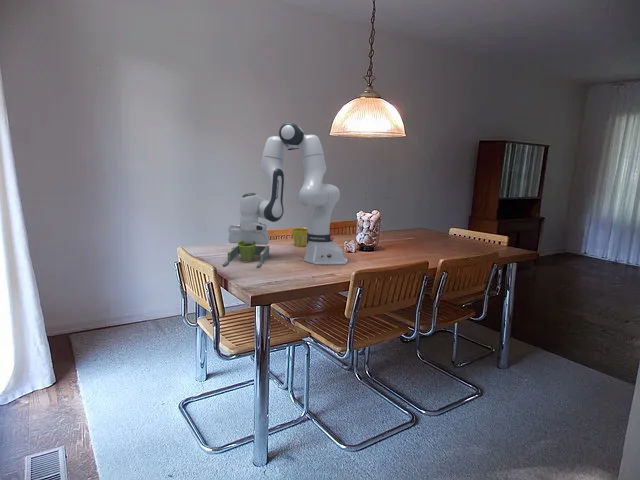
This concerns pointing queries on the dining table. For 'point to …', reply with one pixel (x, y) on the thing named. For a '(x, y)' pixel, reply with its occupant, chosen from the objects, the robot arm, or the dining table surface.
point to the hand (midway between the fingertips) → (248, 252)
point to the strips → (228, 263)
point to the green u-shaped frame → (259, 250)
